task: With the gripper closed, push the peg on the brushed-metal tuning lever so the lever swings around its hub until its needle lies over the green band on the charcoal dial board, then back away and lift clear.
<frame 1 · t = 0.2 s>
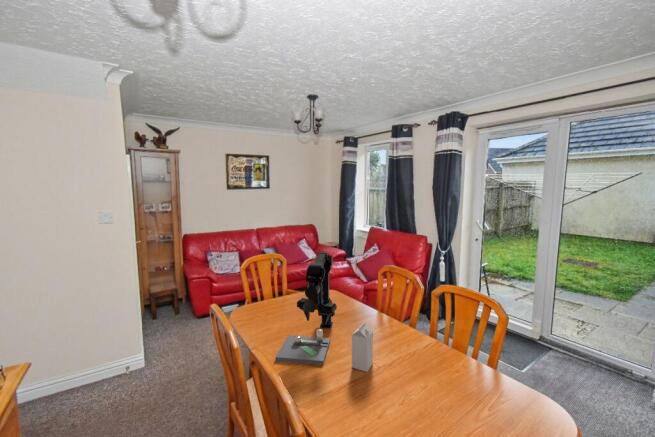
hand: (316, 322, 143), 14 cm above the table, tool pointing down, fingers open, 9 cm apart
tuning lever: (310, 336, 146), point 6 cm above the table, hinge at 0.0°
dial board: (304, 351, 144), on the table
milk carton: (362, 366, 131), on the table
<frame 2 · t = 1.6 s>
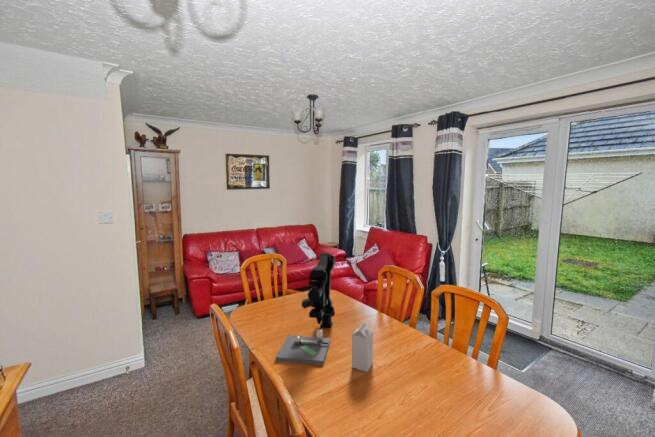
hand: (319, 323, 151), 10 cm above the table, tool pointing down, fingers closed
nothing on the table moved.
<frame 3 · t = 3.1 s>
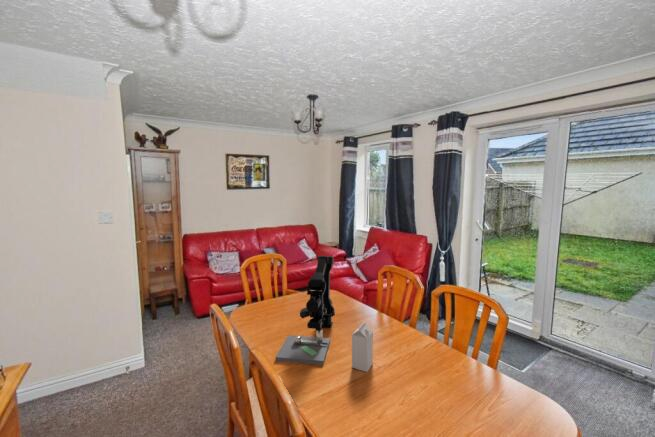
hand: (318, 333, 148), 6 cm above the table, tool pointing down, fingers closed
tuning lever: (310, 336, 145), point 6 cm above the table, hinge at -1.2°, touching gripper
everything else where it was.
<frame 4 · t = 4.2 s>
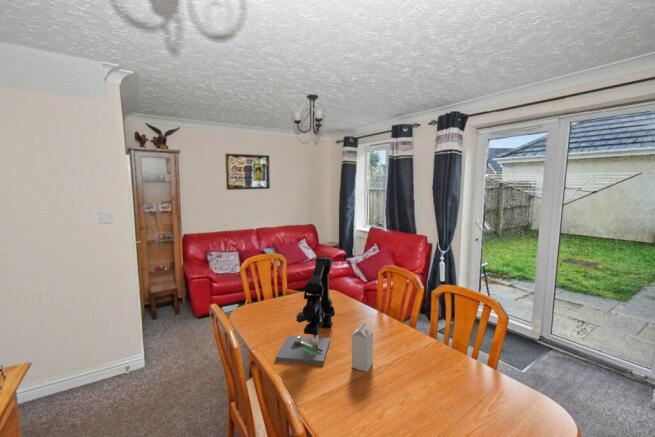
hand: (315, 338, 143), 6 cm above the table, tool pointing down, fingers closed
tuning lever: (307, 339, 143), point 6 cm above the table, hinge at -27.2°, touching gripper
everything else where it was.
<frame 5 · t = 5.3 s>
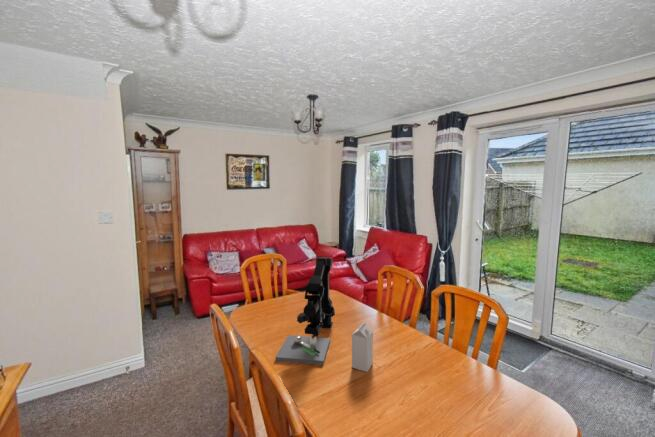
hand: (315, 339, 144), 6 cm above the table, tool pointing down, fingers closed
tuning lever: (306, 340, 142), point 6 cm above the table, hinge at -34.1°
everything else where it was.
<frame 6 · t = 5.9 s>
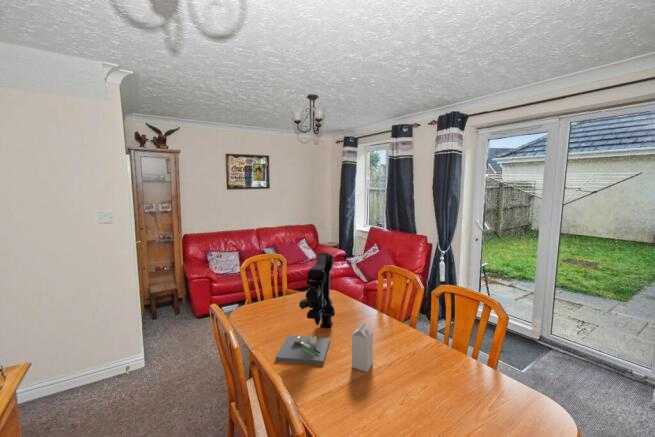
hand: (317, 324, 147), 11 cm above the table, tool pointing down, fingers closed
nothing on the table moved.
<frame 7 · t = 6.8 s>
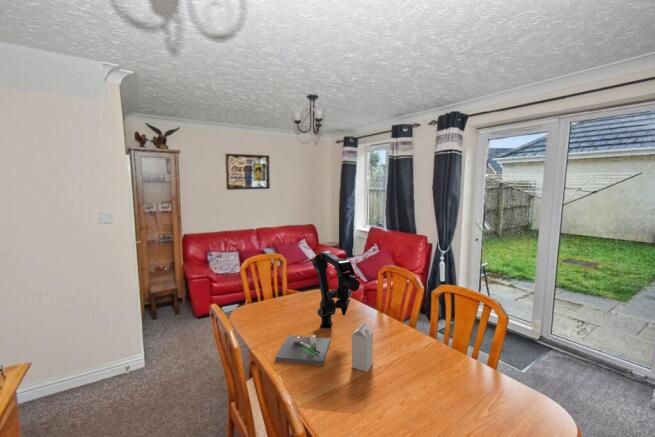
hand: (343, 315, 153), 13 cm above the table, tool pointing down, fingers closed
nothing on the table moved.
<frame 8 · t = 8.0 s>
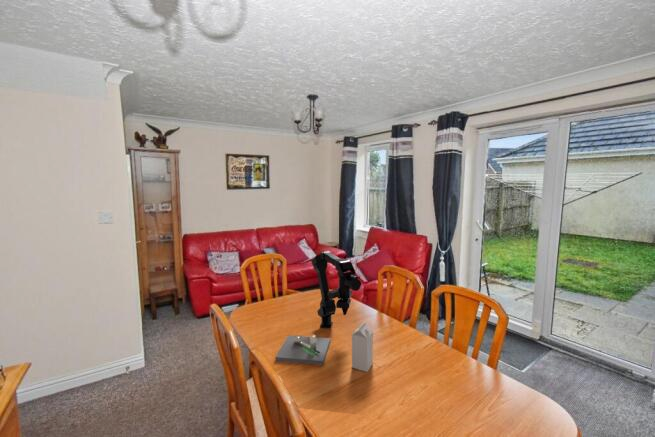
hand: (344, 314, 153), 13 cm above the table, tool pointing down, fingers closed
nothing on the table moved.
at the end: tuning lever at -34° (first picture: +0°); milk carton moved 0.2 cm from its start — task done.
